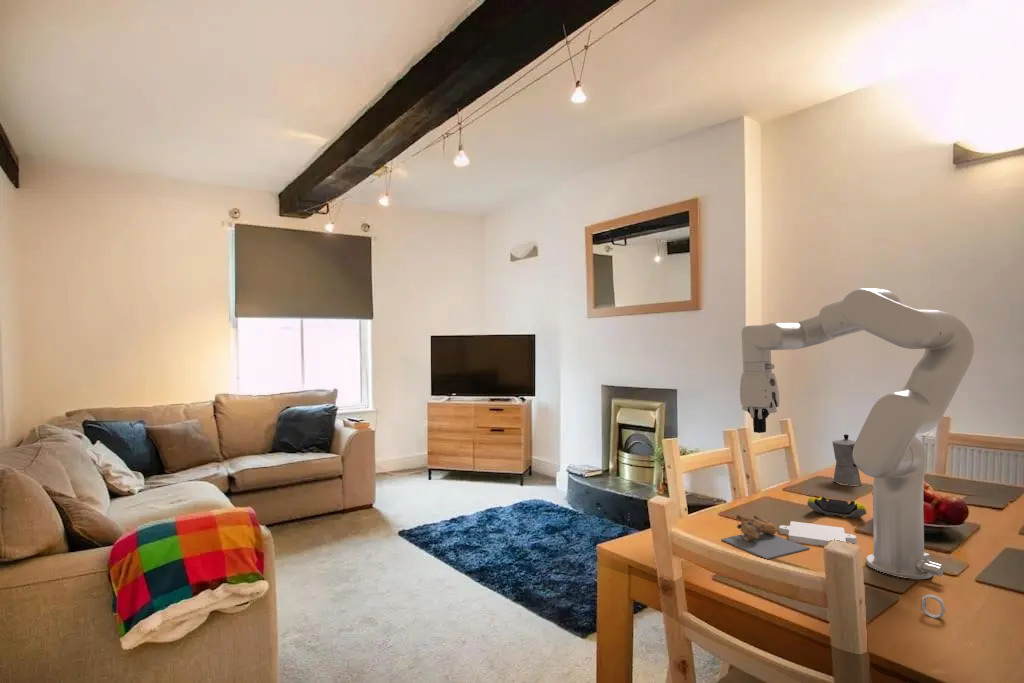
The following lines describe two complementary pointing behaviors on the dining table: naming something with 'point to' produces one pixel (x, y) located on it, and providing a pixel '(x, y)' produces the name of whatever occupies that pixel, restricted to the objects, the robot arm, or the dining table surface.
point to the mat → (766, 545)
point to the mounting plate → (815, 533)
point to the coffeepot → (845, 462)
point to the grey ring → (923, 606)
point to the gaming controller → (837, 507)
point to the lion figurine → (755, 527)
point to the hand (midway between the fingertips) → (759, 432)
